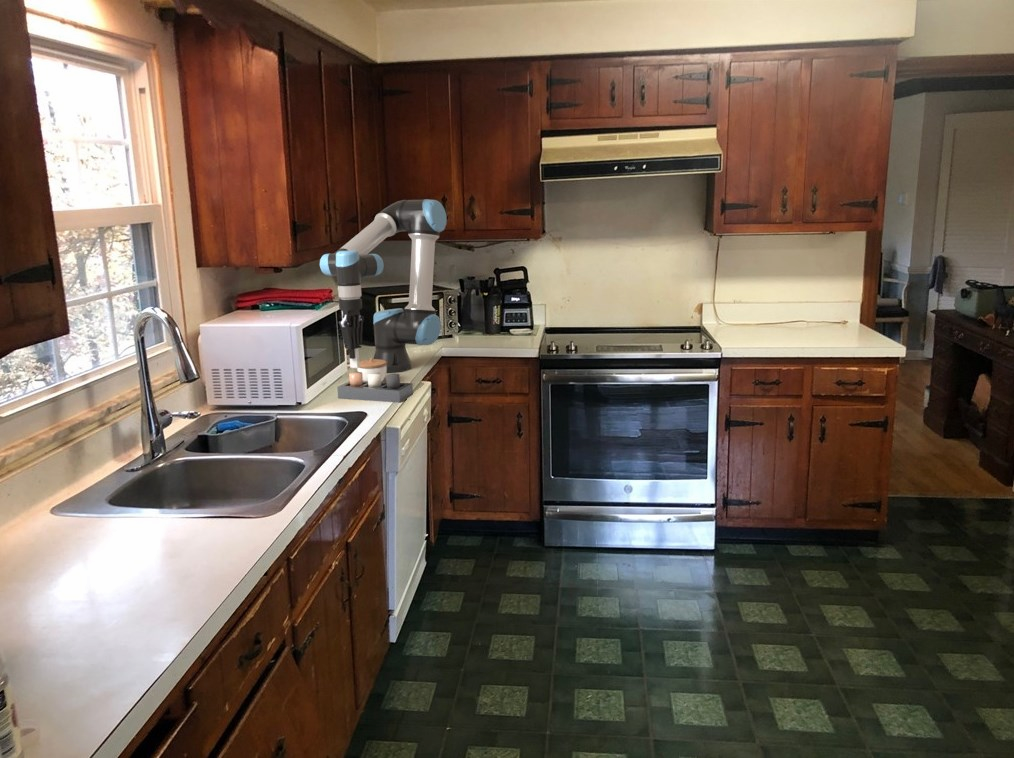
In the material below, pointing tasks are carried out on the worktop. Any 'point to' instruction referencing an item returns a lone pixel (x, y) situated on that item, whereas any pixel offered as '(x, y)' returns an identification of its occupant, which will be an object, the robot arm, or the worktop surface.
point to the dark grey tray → (375, 392)
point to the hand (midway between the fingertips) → (354, 367)
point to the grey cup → (393, 381)
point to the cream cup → (374, 380)
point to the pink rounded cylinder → (356, 379)
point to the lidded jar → (372, 368)
